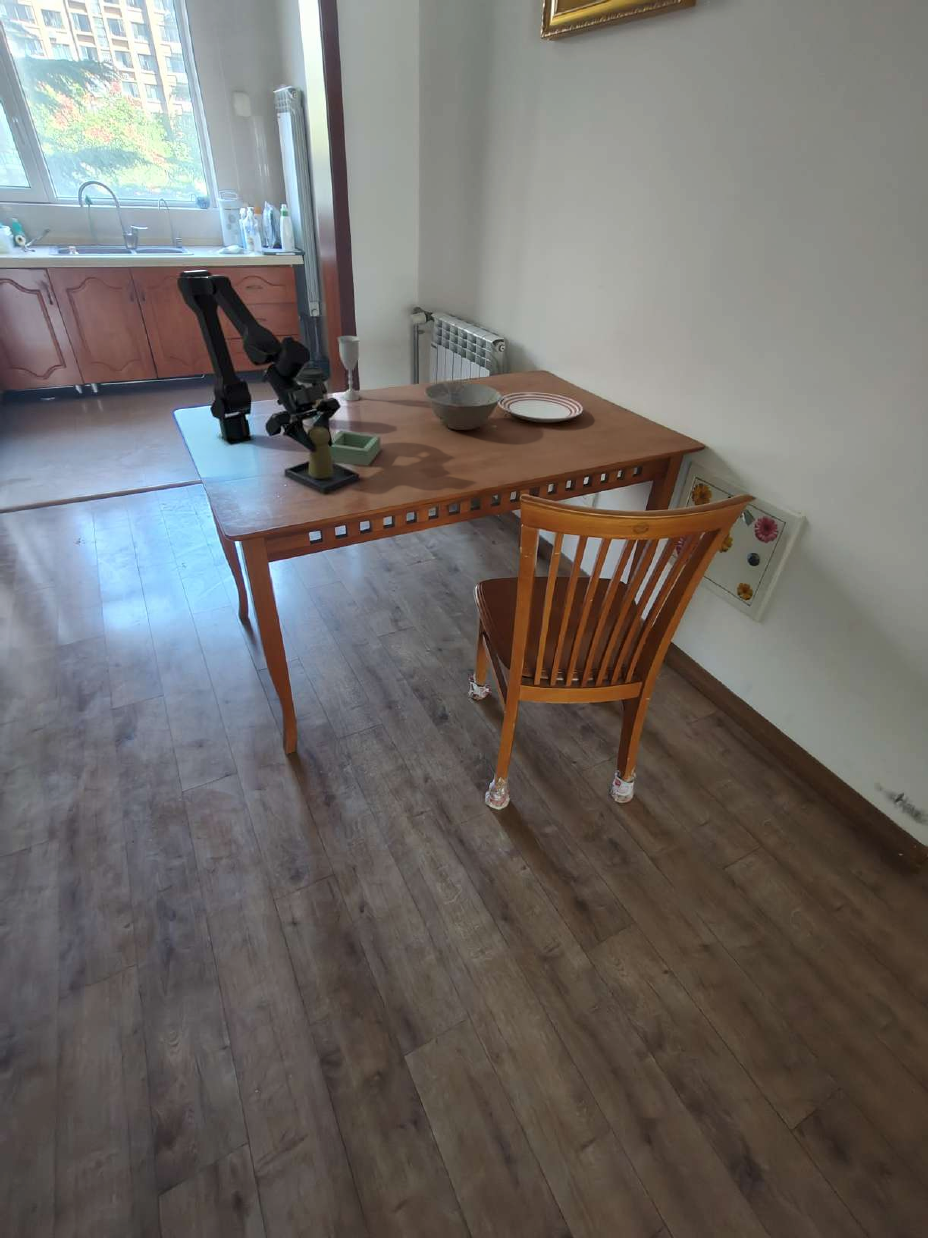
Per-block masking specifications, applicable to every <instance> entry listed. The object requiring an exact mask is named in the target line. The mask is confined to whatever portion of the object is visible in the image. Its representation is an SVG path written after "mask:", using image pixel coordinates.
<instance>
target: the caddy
mask: <svg viewBox="0 0 928 1238" xmlns="http://www.w3.org/2000/svg"><path fill="white" fill-rule="evenodd" d="M331 438H332V442H333V445H332V446H331V447H330V446H329V445H328V446H329V451H330V456H331V461H332V462H334V463H335V462H337V463H341V464H342V463H344V464H350V465H358V466H362V467H363V466H364V467H368V466H369V465H370V464H371V463H372V461H373V460H374V459H375V458H376V456H377V455H378V454H379V453H380V452H381V435H377V434H369V433H362V432H355V431H348V430H341V429H340V430H339V431H338V432H337V433H336V434H335V435H334V436H333V437H331Z"/></svg>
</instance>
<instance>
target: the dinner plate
mask: <svg viewBox="0 0 928 1238" xmlns="http://www.w3.org/2000/svg"><path fill="white" fill-rule="evenodd" d="M497 405H498V406H499V407H500V408H501V409H502V410H504V411H505V412H507V413H508V414H510V415H513V416H514V417H517V418H519V419H521V420H524V421H528V422H533V423H541V424H542V423H543V424H548V423H549V424H551V423H559V422H563V421H568V420H571V419H573V418H575V417H577V416H579V415H580V414H582V413H583V411H584V408H583V406H582V404H581V403H580V402H578V401H576V400H574V399H571V398H569V397H567V396H563V395H558V394H555V393H547V392H535V391H533V392H532V391H526V392H525V391H523V392H514V393H509V394H506V395H503V396H502V397H501V399H500V401H499V402H498V404H497Z"/></svg>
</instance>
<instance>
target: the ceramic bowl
mask: <svg viewBox="0 0 928 1238" xmlns="http://www.w3.org/2000/svg"><path fill="white" fill-rule="evenodd" d="M423 393H424V396H425V398H426V399H427V402H428V404H429V405H430V408H431V409H432V411H433V413H434V414H435V416H436V417H437V418H438V420H439V422H440V423H441V424H442V425H443V426H444V427H446V428H449V429H451V430H455V431H456V430H458V431H470V430H475V429H477V428H479V427H481V426H482V425H483V424H484V423H485V422H486V421H487V420H488V419H489V417H490V416H491V415H492V414H493V412H494V411H495V409H496V407H497V405H499V404H498V402H499V401H500V399H501V397H503V396H502V393H501V392H500V391H498V390H496V389H495V388H493V387H491V386H487V385H484V384H480V383H475V382H470V381H469V382H467V381H448V382H439V383H434V384H431V385H428V386H426V387H425V388H424V391H423Z"/></svg>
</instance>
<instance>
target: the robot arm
mask: <svg viewBox="0 0 928 1238" xmlns="http://www.w3.org/2000/svg"><path fill="white" fill-rule="evenodd" d="M176 283H177V288H178V291H179V293H181V296H182V298H183V301H184V303H185V304H186V306H188V308H189V309H190V310H191V311H192V312H193V313H194V314H195V316H196V319H197V322H198V325H199V329H200V331H201V335H202V337H203V341H204V343H205V347H206V350H207V353H208V357H209V359H210V362H211V366H212V369H213V372H214V375H215V380H214V384H213V389H212V390H213V395H214V400H213V402H212V404H211V406H210V409H209V410H210V412H211V415H212V417H213V418H215V419H217V420H218V423H219V427H220V434H219V437H220V438H221V439H222V440H224V441H225V442H226V443H227V444H235V443H241V442H245V441H250V440H253V437H252V436H251V427H250V422H249V419H247V415H251V413H252V411H251V410H252V403H253V402H252V395H251V392H250V390H249V386H248V382H247V381H246V380H242V379H241V377H239V376H238V375H237V373H236V369H235V366H234V364H233V360H232V357H231V353H230V350H229V346H228V343H227V339H226V337H225V333H224V330H223V327H222V323H221V319H220V316H219V312H218V308H219V307H220V309H221V310H222V312H223V313H224V315H225V316H226V317H227V319H228V321H230V323H231V324H232V326H233V327H234V328H235V330H236V331H237V332H238V334H239V336H240V337H241V340H242V350H243V351H244V352H245V355H246V357H247V359H248V360H249V361H250V362H251V364H252V365H254V367H256V366H257V367H262V366H263V367H264V366H268V365H269V366H268V367H267V369H263V370H262V377H261V382H262V383H263V384H265V383H269V384H270V387H271V388H272V390H273V391H274V393H275V395H276V396H277V398H278V399H277V400H276V403H277V405H278V406H283V408H284V410H282V411H279V412H274V413H272V414H271V416H270V417H269V418H268V420H267V421H266V423H265V425H264V426H265V431H266V433H267V434H268V435H269V437H274V436H277V435H280V434H281V433H282V429H283V433H282V436H284V437H286V436H287V437H288V438H290V439H292V440H294V441H295V442H297V443H298V444H300V445H301V446H303V447H304V448H305V449H307V450H308V451H309V452H310V451H311V452H315V451H316V449H315V447H314V445H313V443H312V441H311V440H310V438H309V436H308V435H307V431H306V430H305V427H304V423H303V420H306V419H310V418H313V420H314V421H315V423H314V424H313V427H324V428H326V429H327V430H328V431H329V434H330V439H329V442H328V445H329V446H330V447H331V446H332V445H333V442H332V438H333V437H332V433H331V429H330V419H331V418H332V417H333V416H334V415H335V414H336V413H337V412H338V411H339V410H340V408H341V407H342V405H341V404H340V403H339V401H338V399H337V398H336V397H329V398H328V399H325V400H322V401H321V402H320V404H319V405H318V406H317V407H316V408H313V407H312V406H314V405H315V404H316V403H317V402H316V400H319V399H324V396H323V395H324V394H327V389H326V386H325V384H324V383H323V381H322V380H318V381H315V382H312V386H311V387H307V388H306V387H305V386H304V385H303V384H301V385H299V384H298V382H297V380H296V379H295V378H296V377H298V376H299V374H300V373H301V372H302V370H303V369H304V368H306V367H307V365H308V363H309V362H310V360H311V353H310V351H309V348H308V347H306V346H305V345H304V344H303V343H301V342H300V341H298V340H295V339H294V338H293V336H292V335H289V336H284V337H283V339H282V341H280V340H279V339H278V338H277V336H276V335H275V334H274V333H273V332H272V330H270V329H269V328H267V327H265V326H263V325H261V324H260V323H259V322H258V320H257V319H256V318H255V316H254V315H253V314H252V312H251V311H250V310H249V308H248V307H247V305H246V304H245V303H244V301H243V300H242V298H241V297H240V296H239V294H238V292H237V291H236V290H235V288H234V287H233V285H232V281H231V280H230V277H228V275H225V274H212V273H211V272H210V271H209V270H207V269H203V270H189V271H181V272H180V273H179V277H178V278H177V281H176Z"/></svg>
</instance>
